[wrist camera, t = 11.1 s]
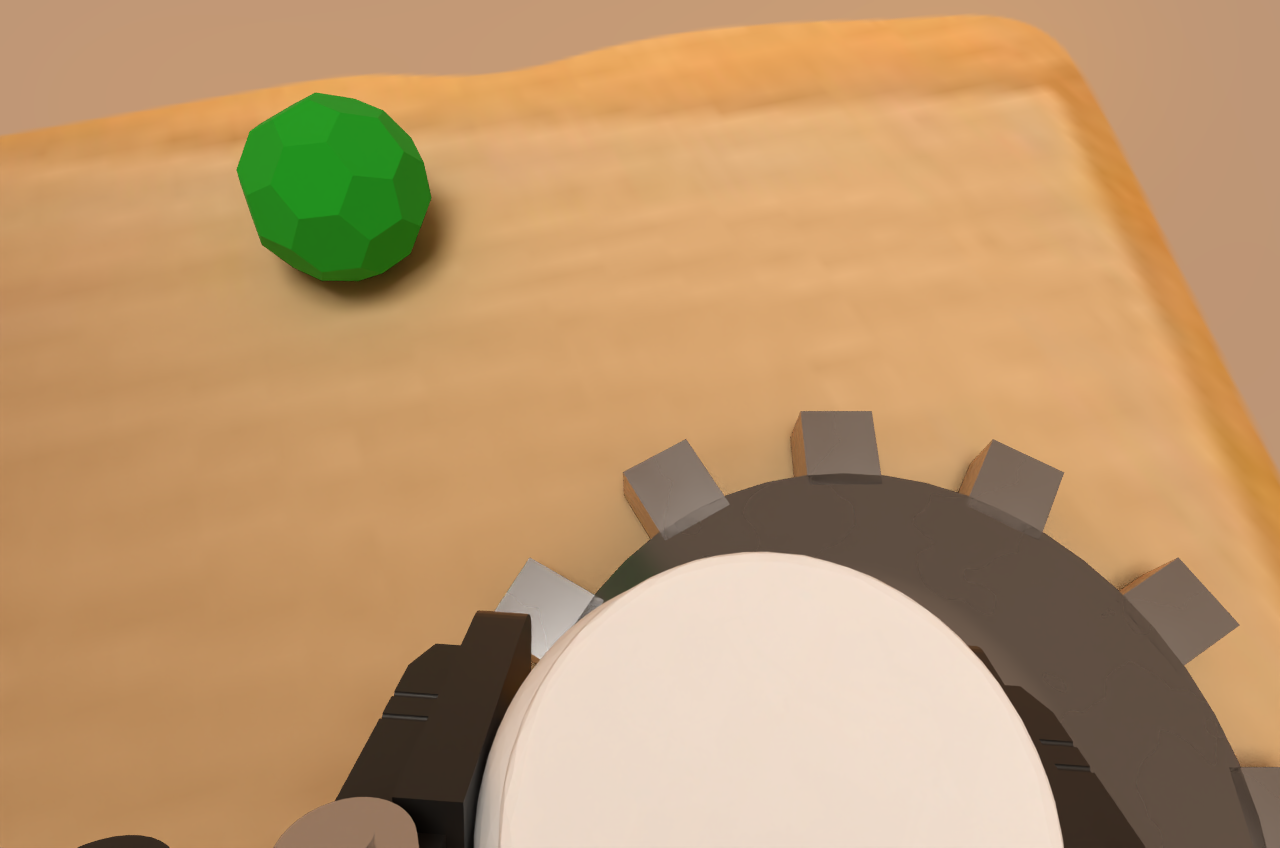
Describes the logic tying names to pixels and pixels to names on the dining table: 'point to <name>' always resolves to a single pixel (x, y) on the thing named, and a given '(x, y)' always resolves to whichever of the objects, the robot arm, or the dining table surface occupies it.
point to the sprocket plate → (974, 607)
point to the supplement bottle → (763, 723)
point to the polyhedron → (334, 187)
